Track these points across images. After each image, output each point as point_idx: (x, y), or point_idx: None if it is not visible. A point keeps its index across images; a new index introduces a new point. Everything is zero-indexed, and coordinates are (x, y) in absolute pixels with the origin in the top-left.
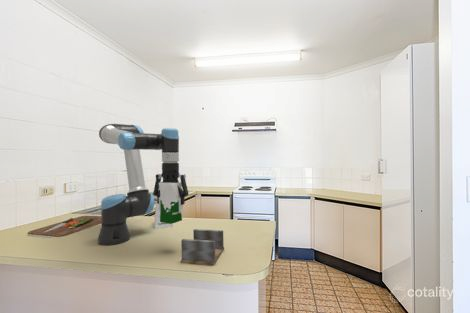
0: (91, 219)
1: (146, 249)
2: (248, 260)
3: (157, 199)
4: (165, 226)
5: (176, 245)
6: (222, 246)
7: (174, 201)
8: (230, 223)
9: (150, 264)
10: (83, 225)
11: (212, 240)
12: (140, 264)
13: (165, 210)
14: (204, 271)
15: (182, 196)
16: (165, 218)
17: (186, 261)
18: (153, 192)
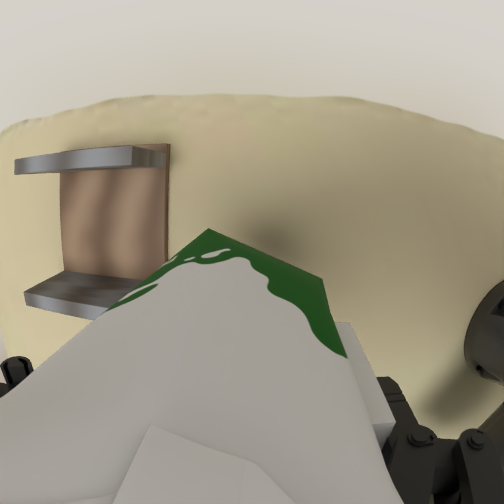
0: None
1: (373, 259)
2: (4, 210)
3: (408, 410)
4: None
5: None
6: (59, 273)
7: (96, 318)
8: None
9: (285, 116)
10: None
11: (77, 284)
12: (326, 113)
13: (240, 255)
14: (82, 109)
15: (6, 376)
16: (256, 251)
17: (145, 144)
18: (497, 457)
